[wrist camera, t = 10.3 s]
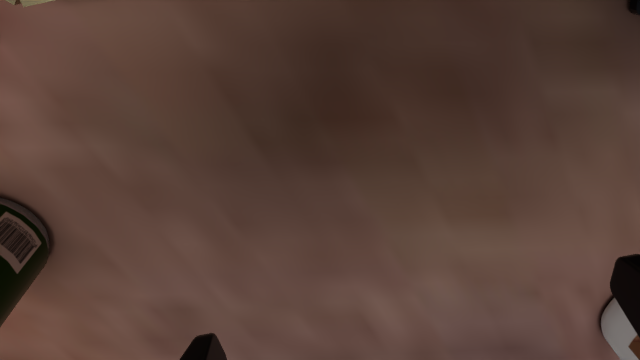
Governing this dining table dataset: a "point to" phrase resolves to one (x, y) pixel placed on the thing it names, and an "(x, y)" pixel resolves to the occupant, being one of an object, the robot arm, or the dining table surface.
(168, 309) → the dining table surface
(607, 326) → the milk bottle
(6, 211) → the beer can
